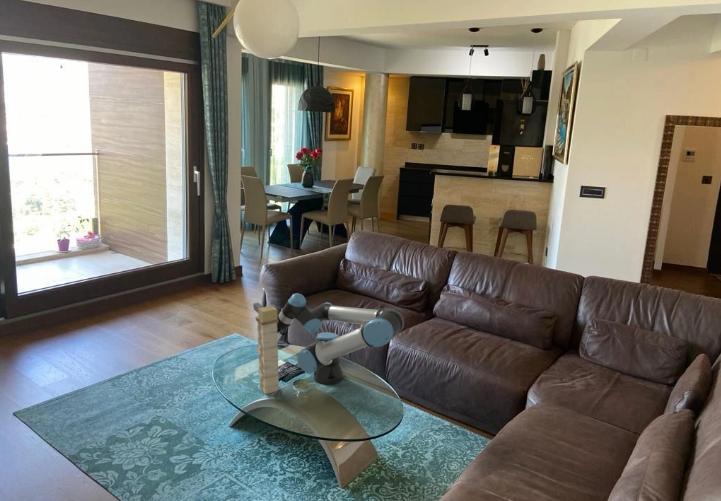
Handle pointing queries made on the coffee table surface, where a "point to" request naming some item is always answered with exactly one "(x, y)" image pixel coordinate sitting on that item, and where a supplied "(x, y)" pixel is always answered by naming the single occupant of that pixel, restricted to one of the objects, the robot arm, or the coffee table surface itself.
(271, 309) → the bar
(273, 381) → the pedestal
